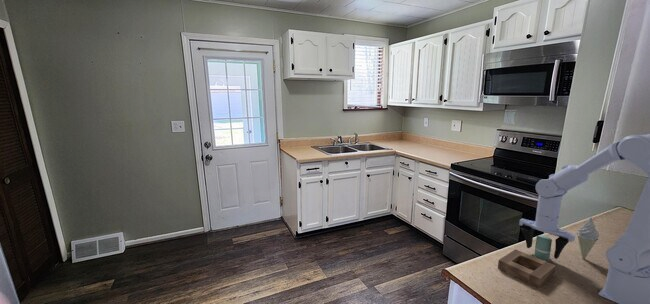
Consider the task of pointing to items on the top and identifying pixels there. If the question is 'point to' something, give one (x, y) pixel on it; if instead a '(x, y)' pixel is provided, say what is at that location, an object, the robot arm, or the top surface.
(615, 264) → the robot arm
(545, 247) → the peg
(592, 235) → the ice cream cone
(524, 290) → the top surface
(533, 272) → the stand
